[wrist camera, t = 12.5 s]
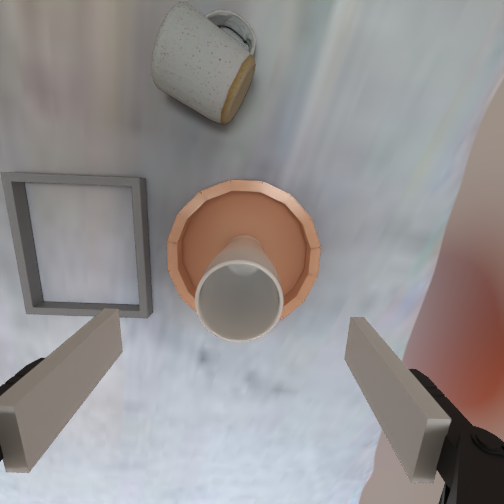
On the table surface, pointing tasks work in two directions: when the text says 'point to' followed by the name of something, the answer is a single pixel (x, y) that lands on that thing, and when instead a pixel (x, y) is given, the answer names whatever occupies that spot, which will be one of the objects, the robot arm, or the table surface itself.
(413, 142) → the table surface
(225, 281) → the drinking glass
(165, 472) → the table surface
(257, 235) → the bowl
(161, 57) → the ceramic mug
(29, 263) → the tray
